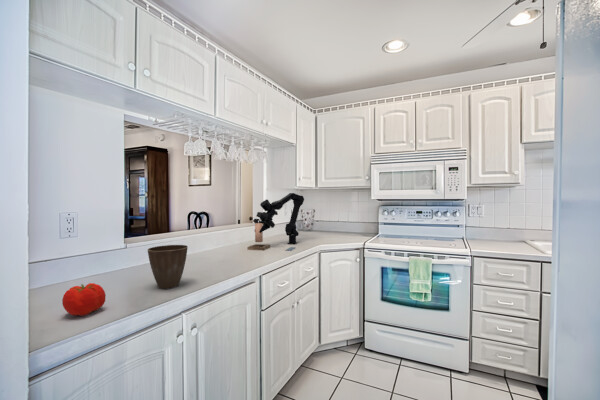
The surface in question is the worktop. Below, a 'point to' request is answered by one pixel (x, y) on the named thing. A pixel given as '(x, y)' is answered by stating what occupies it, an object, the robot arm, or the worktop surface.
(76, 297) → the tomato
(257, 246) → the walnut puzzle board
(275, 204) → the robot arm
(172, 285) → the plant pot
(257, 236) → the terracotta peg
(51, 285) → the worktop surface
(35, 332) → the worktop surface
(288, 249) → the slate-blue mat
